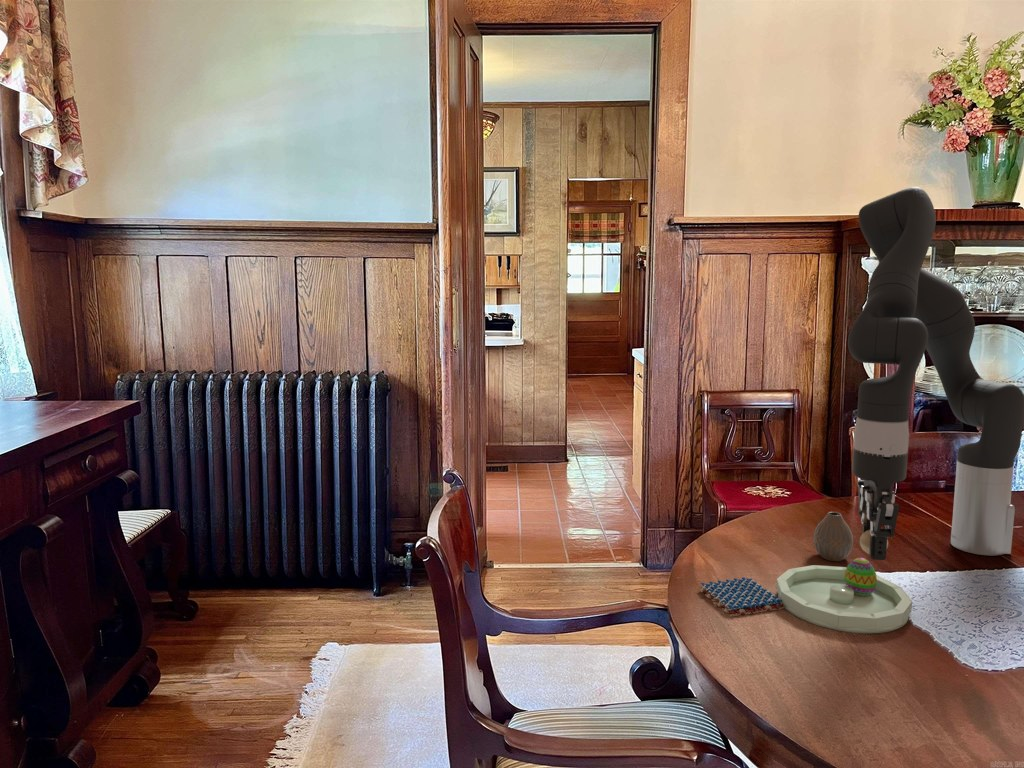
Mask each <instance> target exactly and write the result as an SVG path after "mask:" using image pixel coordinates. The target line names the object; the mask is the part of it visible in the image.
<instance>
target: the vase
mask: <svg viewBox="0 0 1024 768" xmlns="http://www.w3.org/2000/svg"><path fill="white" fill-rule="evenodd" d="M853 537H854V536H853V532H852V530H851V528H850V527H849V525H848V523H847V522H846V521H845V519H844V518H843V515H842V513H840V512H838V511H828V512H827V513H826V515H825V516H824V518H823V519H822V520H820V522H818V524H817V525H816V528H814V533H813V546H814V548H815V551H816V553H817V554H818V555H819V557H821V558H822V559H823V560H825V561H826V560H827V561H831V562H841V561H844V560H845V559H847V558H848V557H849V555H850V554H851V552H852V550H853V546H854V545H853V544H854V538H853Z"/></svg>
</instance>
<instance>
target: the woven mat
mask: <svg viewBox="0 0 1024 768" xmlns="http://www.w3.org/2000/svg"><path fill="white" fill-rule="evenodd" d="M700 584H701V587H700V588H699V592H700V593H702V594H704V595H705V597H707V599H710V600H711V601H712V603H713V605H715V606H716V605H717V606H718V607H719V608H721V609H722V610H723V611H724V613H726V614H728V615H729V616H730V617H736V616H737V617H738V616H741V615H742V616H743V615H749V614H757V613H762V612H764V613H765V612H771V611H776V610H781V609H785V608H784V607H783V605H782V600H781V599H779V598H778V595H776V594H774V593H773V592H771V590H770V591H769V590H768V589H766V588H764V587H763V586H762V584H759V583H757V581H755V580H754V579H752V578H748V577H745V576H744V577H742V576H741V579H738V578H736V577H735V578H733V580H731V579H730V580H729V579H725V581H724V580H723V581H721V580H717V582H713V581H709V583H704V582H700ZM780 602H781V603H780Z"/></svg>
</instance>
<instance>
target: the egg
mask: <svg viewBox="0 0 1024 768" xmlns="http://www.w3.org/2000/svg"><path fill="white" fill-rule="evenodd" d="M876 575H877V573H876V570H875V567H874V566H873V565H872V563H871V562H870V561H869V560H867V559H866V558H864V557H856V558H854V559H853V560H851V561H850V562H849V563H848V565H847V567H846V571H845V576H844V580H845V585H846V586H847V587H850V588H852V589H853V590H854V594H855V595H858V596H868V595H870V594H871V593H872V592H873V591H874V590H875V588H876V584H877V577H876Z"/></svg>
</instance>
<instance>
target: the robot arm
mask: <svg viewBox="0 0 1024 768" xmlns="http://www.w3.org/2000/svg"><path fill="white" fill-rule="evenodd" d="M935 210H936V209H935V207H934V204H933V202H932V199H931V198H930V196H929V195H928V193H927V192H926V191H925V190H924V189H923V188H921V187H919V186H911V187H906V188H904V189H901V190H898V191H896V192H893V193H891V194H889V195H886V196H884V197H881V198H879V199H876V200H873V201H871V202H869V203H867V204H864V205H863V206H862V207H861V208H860V210H859V212H858V223H859V227H860V230H861V232H862V235H863V237H864V239H865V241H866V243H867V244H868V246H869V247H870V249H871V251H872V253H873V254H874V255H875V257H876V259H877V260H878V262H879V263H878V264H877V266H876V268H875V269H874V270H873V272H872V275H871V276H870V278H869V279H870V280H869V283H868V284H869V285H868V291H867V297H866V303H865V305H864V307H863V309H861V312H860V314H859V315H858V316H857V318H856V319H855V320H854V322H853V324H852V326H851V328H850V331H849V334H848V337H847V346H848V347H847V348H848V351H849V354H850V355H851V356H852V358H853V359H854V360H856V361H858V362H859V363H864V364H877V365H879V364H882V365H898V368H897V370H896V371H895V372H893V374H891V375H888V376H883V377H878V378H877V377H876V378H875V377H874V378H868V379H866V380H863V381H861V382H860V385H859V386H858V393H857V395H858V396H857V410H856V411H857V412H856V422H855V426H854V432H853V445H852V446H853V447H852V460H851V461H852V464H851V473H852V474H853V476H855V477H856V478H858V481H857V490H858V491H857V495H858V516H859V518H860V523H861V525H862V534H863V533H864V532H865V531H867V530H871V531H870V534H871V536H870V551H869V554H868V556H869V557H870V559H871V560H874V561H885V560H886V558H887V550H886V549H888V548H887V539H888V538H894V535H895V531H896V525H897V520H898V516H899V511H900V506H899V503H895V501H896V495H895V491H893V487H892V486H893V485H894V484H895V483H900V482H904V481H905V479H906V478H907V472H908V471H907V469H908V460H909V459H908V457H909V456H908V455H909V443H910V427H909V417H910V416H909V413H910V403H911V402H910V401H911V395H912V394H911V393H912V387H913V385H914V384H913V383H914V380H915V376H916V374H917V371H918V369H919V367H920V364H921V361H922V360H923V357H924V354H925V351H927V353H928V356H929V358H930V359H931V361H932V364H933V367H934V368H935V370H936V372H937V374H938V377H939V380H940V383H941V384H942V385H941V386H942V388H943V392H944V394H945V396H946V399H947V401H948V405H949V407H950V409H951V411H952V413H953V415H954V416H955V417H956V419H957V420H958V421H960V422H961V423H964V424H966V425H969V426H971V427H972V426H973V427H978V428H981V432H980V437H979V440H977V441H976V442H970V443H964V444H961V445H960V446H959V447H958V449H957V458H956V470H955V483H954V495H953V496H954V497H953V510H952V519H951V521H952V522H951V532H950V544H951V546H953V547H954V548H956V549H958V550H960V551H963V552H965V553H966V552H967V553H970V554H974V555H981V556H990V557H991V556H1001V555H1006V554H1007V555H1010V554H1012V545H1013V544H1012V543H1013V533H1014V521H1015V511H1016V510H1015V505H1014V504H1012V503H1011V499H1012V487H1013V486H1012V485H1013V477H1014V476H1013V474H1014V465H1015V459H1016V456H1017V454H1018V453H1019V449H1020V446H1021V440H1022V434H1023V428H1024V393H1023V391H1022V389H1021V388H1020V387H1019V386H1018V385H1015V384H1013V383H1008V382H1007V383H1006V382H1003V381H1002V382H1001V381H995V380H989V379H984V378H982V377H981V376H980V375H979V373H978V371H977V369H976V368H975V366H974V363H973V362H972V359H971V354H970V353H971V352H970V351H971V348H972V345H973V341H974V338H975V330H976V323H975V319H974V317H973V313H972V312H971V309H970V308H969V306H968V304H967V302H966V299H965V297H964V295H963V294H962V292H961V291H960V290H959V288H957V287H956V286H954V285H953V284H952V283H951V282H949V281H948V280H945V279H944V278H942V277H940V276H938V275H936V274H935V273H932V272H930V271H928V270H926V269H924V268H923V264H924V261H925V260H926V259H925V258H926V257H927V254H928V251H929V248H930V245H931V242H932V239H933V238H934V237H933V236H934V233H935V230H936V224H937V221H936V220H937V217H936V211H935ZM882 526H884V527H883V528H881V527H882ZM862 534H861V535H862Z"/></svg>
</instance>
